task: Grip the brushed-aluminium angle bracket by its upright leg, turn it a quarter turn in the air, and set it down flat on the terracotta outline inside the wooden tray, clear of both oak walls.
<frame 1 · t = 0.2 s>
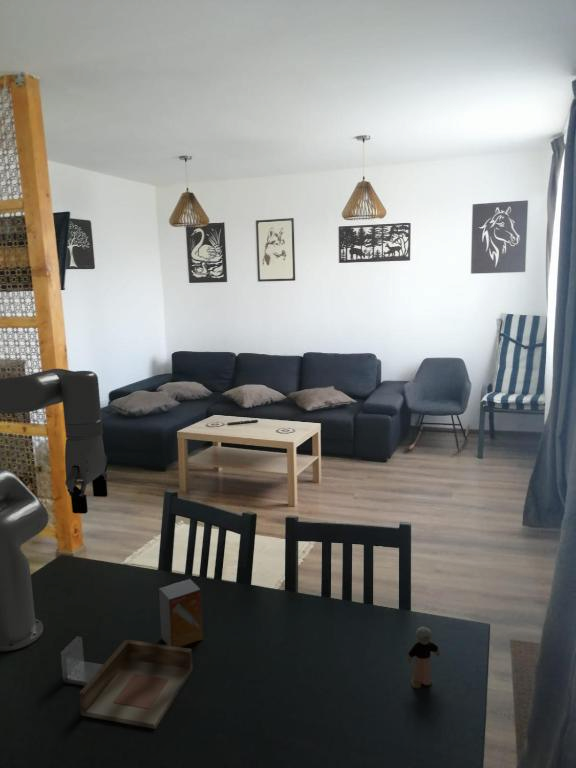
hand: (90, 504, 133), 36 cm above the table, tool pointing down, fingers open, 9 cm apart
grandmother figurine: (423, 683, 127), on the table
bracket: (85, 675, 131), on the table
wooden tray: (139, 691, 126), on the table
small box: (182, 639, 144), on the table
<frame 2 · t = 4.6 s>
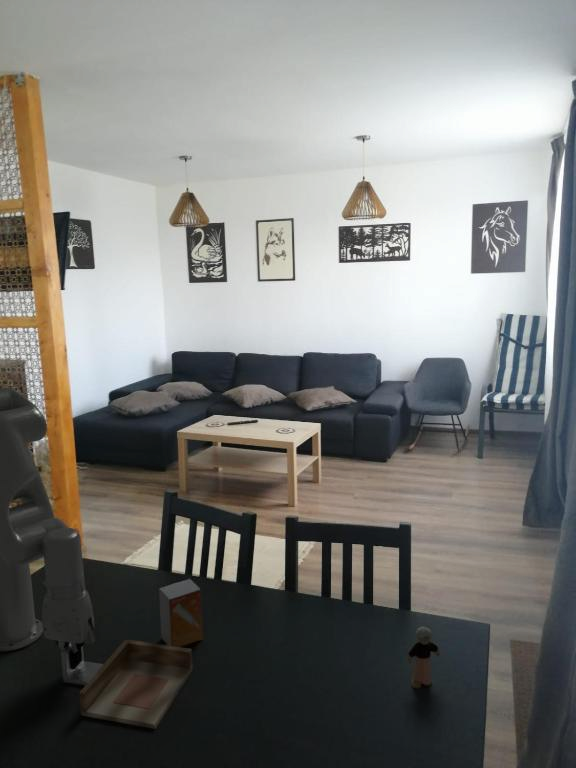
hand: (73, 664, 132), 2 cm above the table, tool pointing down, fingers closed on bracket
bracket: (85, 675, 131), on the table, touching gripper
everything else where it was.
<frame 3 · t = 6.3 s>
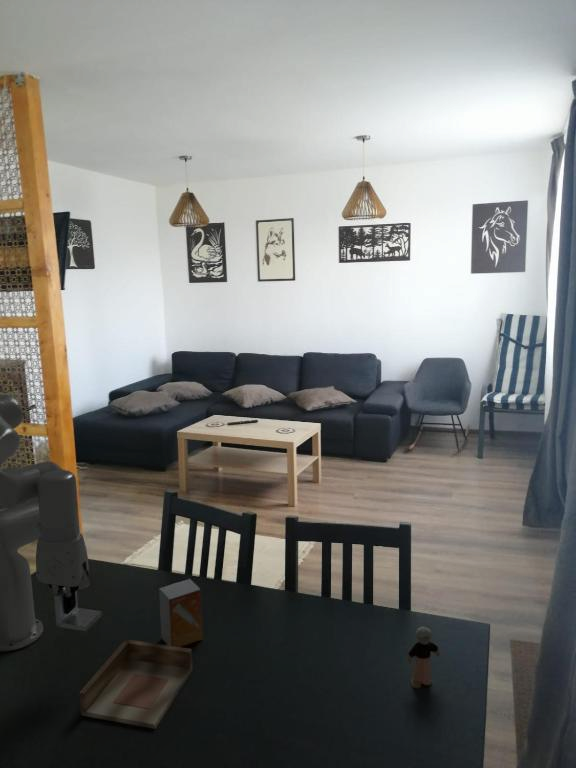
hand: (66, 609, 130), 15 cm above the table, tool pointing down, fingers closed on bracket
bracket: (79, 620, 129), point 13 cm above the table, touching gripper
everything else where it was.
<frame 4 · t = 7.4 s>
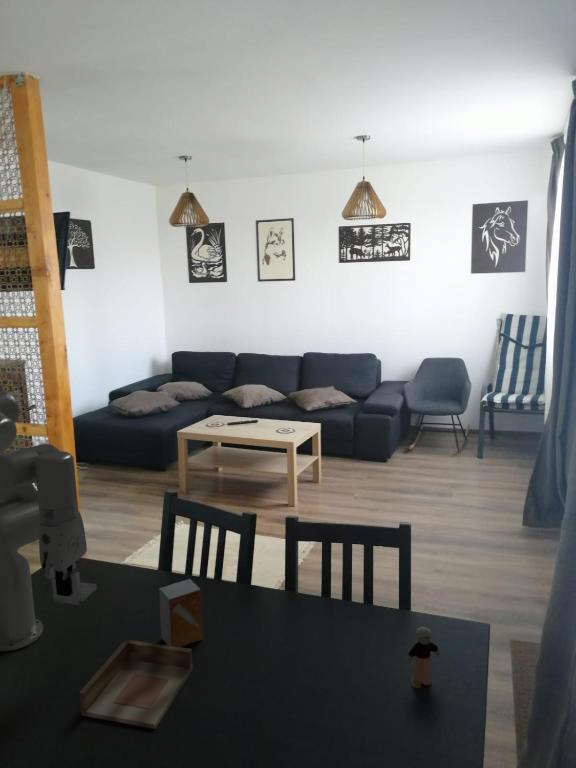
hand: (66, 592, 129), 19 cm above the table, tool pointing down, fingers closed on bracket
bracket: (75, 594, 132), point 17 cm above the table, touching gripper
everything else where it was.
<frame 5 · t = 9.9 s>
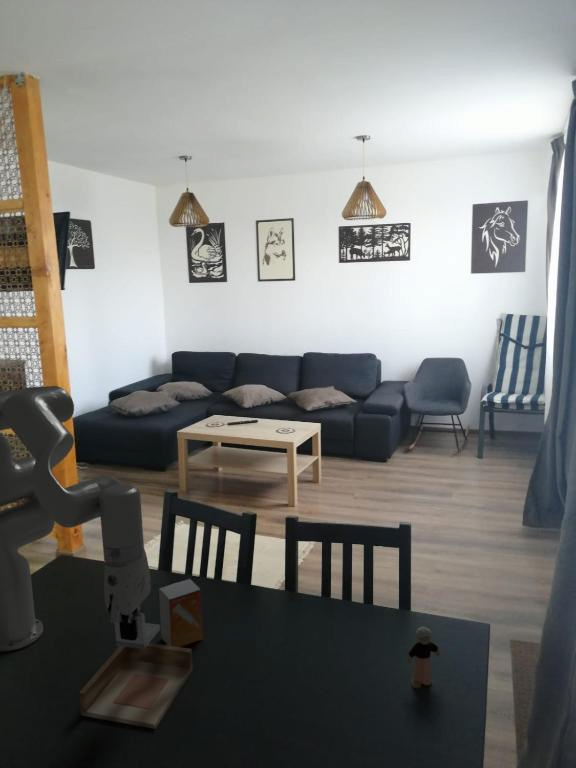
hand: (130, 636, 119), 15 cm above the table, tool pointing down, fingers closed on bracket
bracket: (138, 637, 122), point 13 cm above the table, touching gripper
everything else where it was.
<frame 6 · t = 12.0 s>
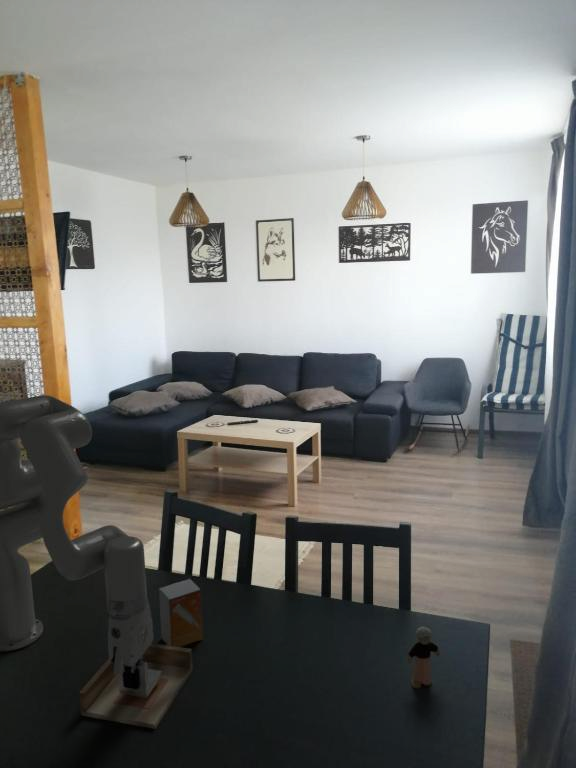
hand: (133, 684, 121), 5 cm above the table, tool pointing down, fingers closed on bracket
bracket: (141, 684, 124), point 2 cm above the table, touching gripper
everything else where it was.
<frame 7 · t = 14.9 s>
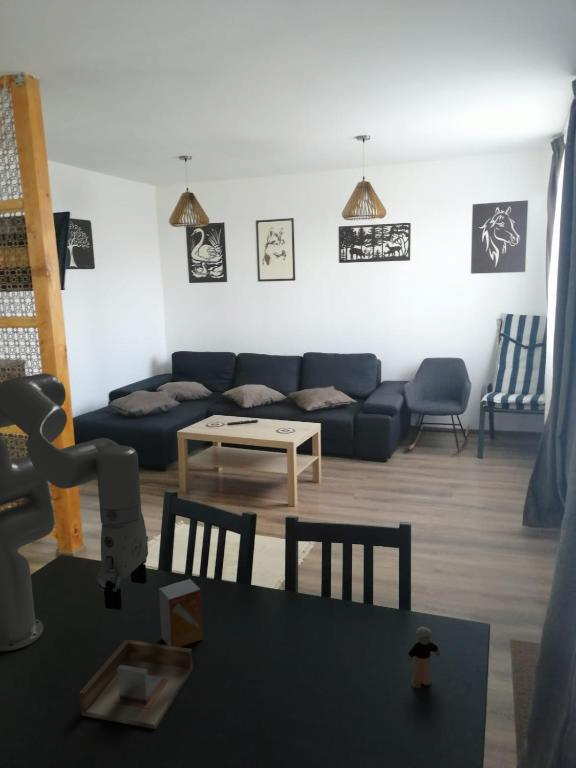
hand: (126, 594, 118), 24 cm above the table, tool pointing down, fingers open, 9 cm apart
bracket: (141, 690, 125), point 1 cm above the table, touching wooden tray
everything else where it was.
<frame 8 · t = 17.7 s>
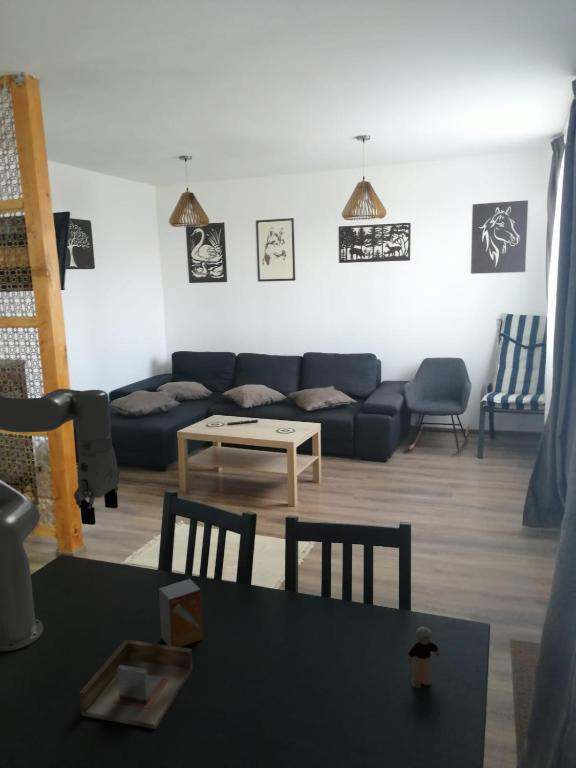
hand: (100, 515, 141), 30 cm above the table, tool pointing down, fingers open, 9 cm apart
nothing on the table moved.
at the end: bracket 0.0 cm from the target spot on the wooden tray, point 1.1 cm above the wooden tray's base; bracket tilted 0°; the gripper is holding nothing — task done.
